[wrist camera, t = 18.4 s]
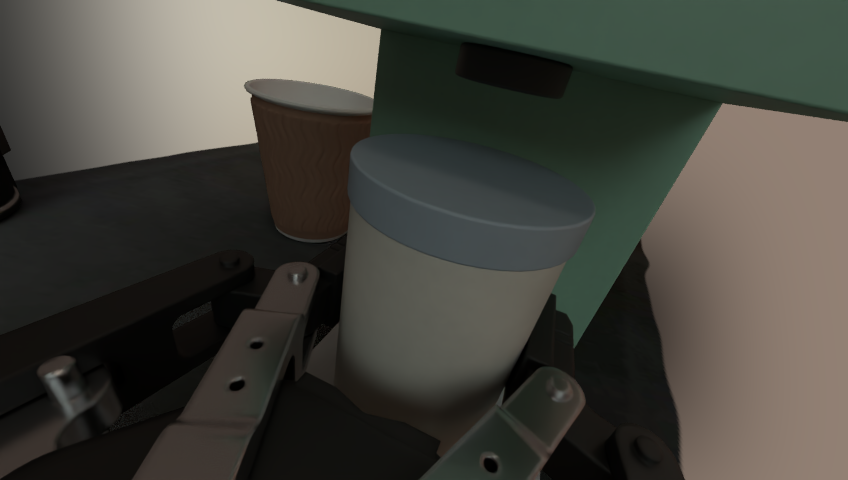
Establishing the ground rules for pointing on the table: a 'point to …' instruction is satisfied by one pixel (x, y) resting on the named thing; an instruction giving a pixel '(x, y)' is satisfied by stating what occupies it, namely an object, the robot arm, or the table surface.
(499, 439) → the robot arm
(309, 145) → the coffee cup
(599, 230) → the coffee maker column
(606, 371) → the table surface
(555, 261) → the container
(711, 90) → the coffee maker
